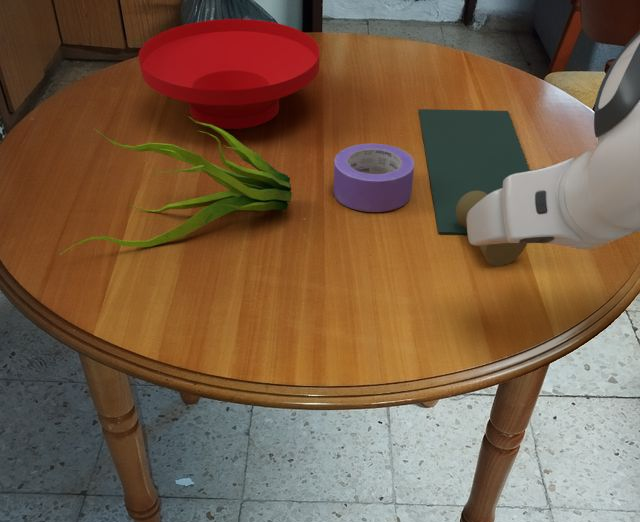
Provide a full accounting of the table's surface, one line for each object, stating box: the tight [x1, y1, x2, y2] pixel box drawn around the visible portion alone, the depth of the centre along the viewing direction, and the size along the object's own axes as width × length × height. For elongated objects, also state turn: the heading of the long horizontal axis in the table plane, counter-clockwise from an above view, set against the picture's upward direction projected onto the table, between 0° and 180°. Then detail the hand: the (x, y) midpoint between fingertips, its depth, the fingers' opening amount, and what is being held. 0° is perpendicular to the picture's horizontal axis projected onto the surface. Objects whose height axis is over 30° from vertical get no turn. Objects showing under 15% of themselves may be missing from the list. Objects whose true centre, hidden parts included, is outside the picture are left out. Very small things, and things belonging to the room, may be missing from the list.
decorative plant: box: [58, 115, 293, 256], centre depth 89 cm, size 18×30×15 cm, turn 89°
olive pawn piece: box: [455, 191, 528, 267], centre depth 91 cm, size 6×6×11 cm
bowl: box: [137, 18, 321, 130], centre depth 117 cm, size 30×30×10 cm
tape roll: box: [333, 143, 415, 213], centre depth 100 cm, size 12×12×5 cm
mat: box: [418, 108, 530, 236], centre depth 108 cm, size 40×16×1 cm, turn 178°
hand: (533, 234), depth 81 cm, fingers closed
